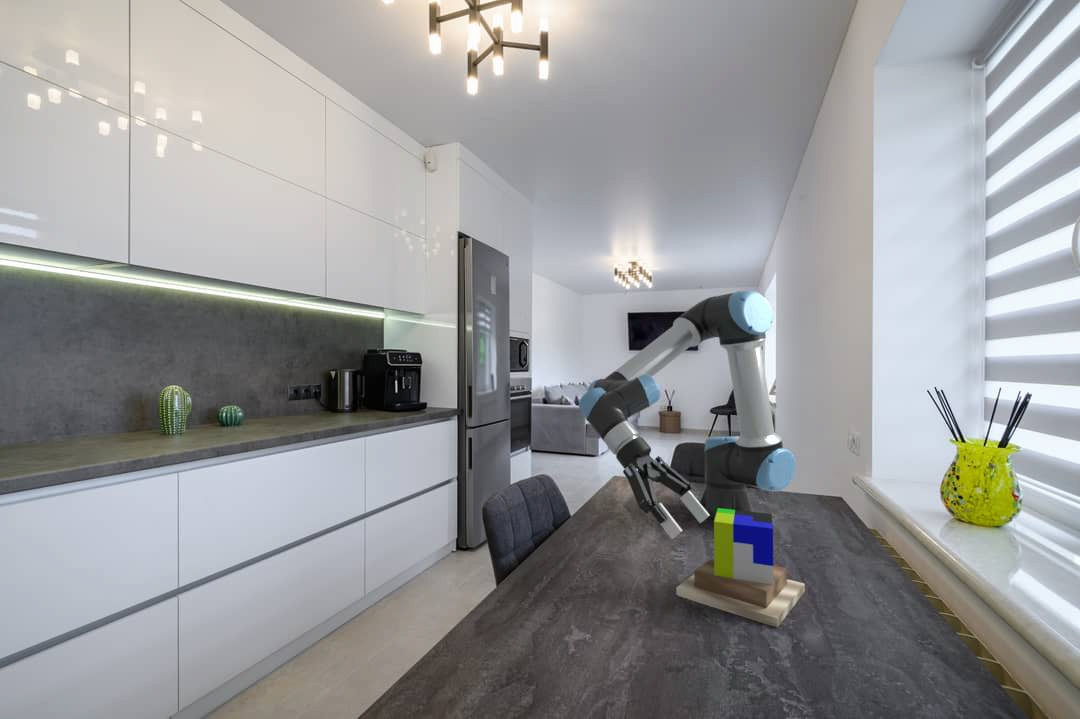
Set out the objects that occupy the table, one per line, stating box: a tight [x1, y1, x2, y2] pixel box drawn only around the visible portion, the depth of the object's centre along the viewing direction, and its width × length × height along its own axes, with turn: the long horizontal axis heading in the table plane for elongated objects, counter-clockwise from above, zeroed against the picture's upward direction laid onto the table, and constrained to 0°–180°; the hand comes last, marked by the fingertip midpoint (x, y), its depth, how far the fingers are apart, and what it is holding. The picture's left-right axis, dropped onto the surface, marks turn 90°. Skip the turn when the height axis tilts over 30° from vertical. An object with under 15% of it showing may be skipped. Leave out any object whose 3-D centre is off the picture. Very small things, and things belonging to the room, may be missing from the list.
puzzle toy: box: [713, 508, 774, 585], centre depth 96 cm, size 10×10×10 cm
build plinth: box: [675, 556, 806, 628], centre depth 95 cm, size 18×18×4 cm
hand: (692, 527), depth 102 cm, fingers open, 13 cm apart
